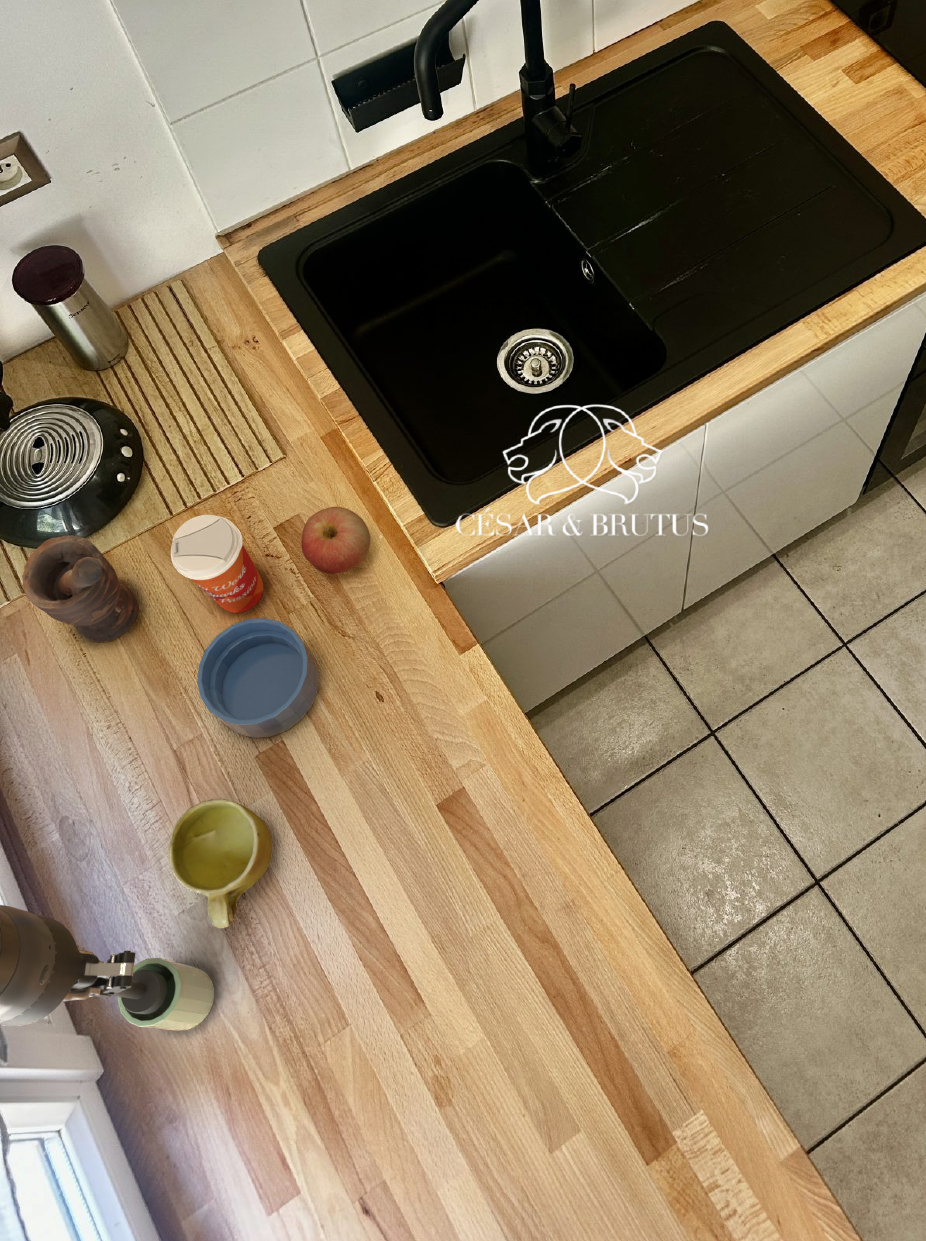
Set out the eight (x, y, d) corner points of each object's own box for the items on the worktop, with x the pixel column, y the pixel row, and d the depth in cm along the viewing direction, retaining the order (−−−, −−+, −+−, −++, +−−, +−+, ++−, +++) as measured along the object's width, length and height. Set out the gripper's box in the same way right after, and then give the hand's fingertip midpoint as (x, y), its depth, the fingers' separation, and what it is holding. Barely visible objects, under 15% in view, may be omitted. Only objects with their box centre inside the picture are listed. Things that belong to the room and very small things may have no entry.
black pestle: (126, 1015, 106) (47, 1005, 91) (131, 973, 108) (54, 956, 93) (165, 1013, 106) (92, 1002, 91) (169, 970, 108) (98, 953, 93)
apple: (373, 583, 137) (360, 556, 130) (306, 585, 137) (289, 558, 130) (378, 522, 140) (365, 492, 133) (313, 524, 140) (296, 494, 133)
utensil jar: (153, 1032, 115) (114, 1028, 106) (160, 969, 117) (122, 960, 108) (211, 1028, 114) (177, 1024, 106) (217, 965, 117) (183, 956, 108)
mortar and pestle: (177, 581, 138) (111, 508, 120) (162, 650, 133) (91, 585, 116) (82, 579, 138) (3, 506, 120) (64, 648, 134) (-21, 583, 116)
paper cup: (209, 627, 135) (167, 581, 122) (206, 568, 138) (165, 518, 126) (276, 614, 135) (241, 566, 123) (271, 555, 139) (236, 504, 126)
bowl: (210, 742, 128) (192, 727, 123) (219, 640, 134) (203, 622, 129) (317, 735, 128) (304, 720, 123) (322, 633, 134) (309, 614, 129)
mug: (179, 796, 124) (174, 796, 114) (277, 801, 126) (280, 801, 117) (161, 918, 120) (155, 928, 111) (263, 920, 123) (264, 931, 113)
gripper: (103, 903, 83) (183, 930, 99) (-85, 915, 83) (25, 940, 99) (88, 1017, 80) (174, 1028, 95) (-108, 1030, 80) (9, 1038, 95)
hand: (97, 983), depth 97 cm, fingers closed on black pestle, 1 cm apart
